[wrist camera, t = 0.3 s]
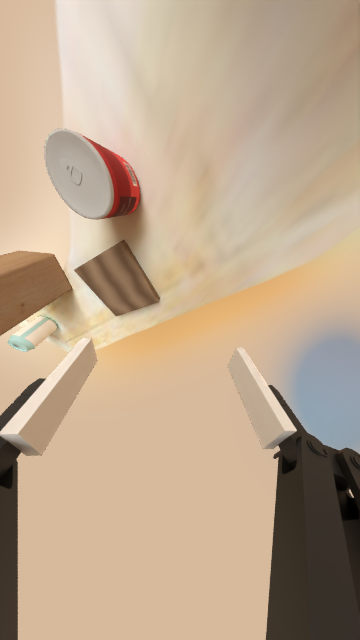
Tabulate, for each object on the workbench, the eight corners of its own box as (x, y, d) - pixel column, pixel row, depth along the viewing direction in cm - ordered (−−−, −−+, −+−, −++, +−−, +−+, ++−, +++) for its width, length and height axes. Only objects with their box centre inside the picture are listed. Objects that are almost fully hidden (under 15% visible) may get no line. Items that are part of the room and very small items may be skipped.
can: (57, 331, 57) (30, 355, 48) (38, 322, 55) (6, 346, 46) (59, 322, 53) (29, 346, 44) (38, 312, 51) (3, 336, 42)
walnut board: (124, 240, 31) (120, 242, 29) (159, 298, 39) (158, 301, 38) (79, 267, 36) (73, 270, 35) (119, 312, 45) (116, 316, 44)
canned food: (99, 142, 22) (35, 105, 13) (146, 173, 23) (115, 158, 15) (97, 199, 27) (48, 198, 18) (136, 222, 28) (108, 231, 20)
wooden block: (73, 288, 41) (-2, 338, 26) (42, 285, 42) (-47, 331, 27) (54, 253, 35) (-59, 292, 20) (18, 250, 36) (-116, 285, 21)
